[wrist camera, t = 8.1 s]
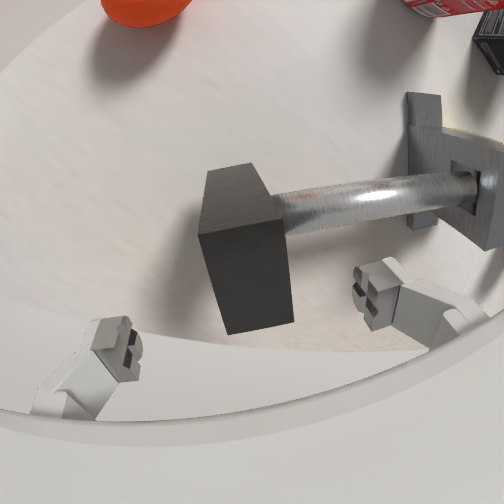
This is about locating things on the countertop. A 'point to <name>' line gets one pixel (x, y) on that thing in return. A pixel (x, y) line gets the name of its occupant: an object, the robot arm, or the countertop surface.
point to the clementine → (143, 11)
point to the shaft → (294, 231)
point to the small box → (492, 38)
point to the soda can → (453, 6)
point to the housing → (456, 159)
